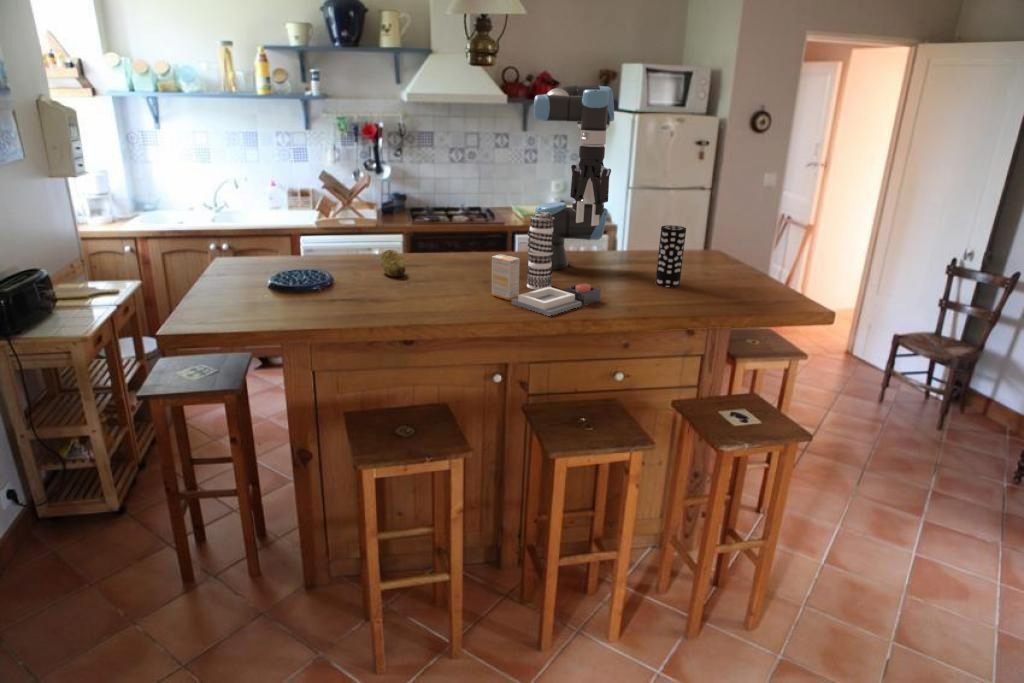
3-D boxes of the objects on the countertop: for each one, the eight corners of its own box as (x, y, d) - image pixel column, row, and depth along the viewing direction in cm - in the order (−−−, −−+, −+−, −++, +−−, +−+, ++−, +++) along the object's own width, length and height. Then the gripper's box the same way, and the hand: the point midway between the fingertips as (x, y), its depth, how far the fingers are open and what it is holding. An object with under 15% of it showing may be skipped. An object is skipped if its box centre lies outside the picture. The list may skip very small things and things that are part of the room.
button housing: (564, 300, 216) (565, 288, 215) (580, 295, 221) (581, 283, 220) (583, 306, 211) (584, 293, 209) (599, 301, 216) (600, 289, 215)
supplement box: (519, 298, 217) (520, 258, 213) (509, 301, 214) (510, 260, 209) (501, 292, 222) (501, 253, 218) (490, 295, 219) (491, 255, 214)
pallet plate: (511, 304, 211) (511, 293, 210) (544, 295, 221) (544, 284, 220) (548, 316, 200) (549, 305, 199) (581, 306, 210) (582, 296, 209)
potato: (381, 279, 233) (380, 256, 230) (380, 269, 245) (379, 248, 242) (406, 278, 235) (405, 256, 232) (403, 269, 247) (403, 247, 244)
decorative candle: (520, 286, 229) (522, 213, 220) (535, 281, 236) (538, 209, 227) (542, 292, 224) (545, 216, 215) (557, 286, 231) (561, 213, 222)
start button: (571, 296, 216) (572, 285, 214) (581, 293, 219) (582, 282, 218) (583, 299, 212) (584, 288, 211) (593, 296, 216) (593, 285, 214)
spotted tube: (679, 288, 232) (686, 231, 225) (655, 286, 234) (661, 229, 226) (679, 282, 240) (685, 226, 233) (655, 280, 241) (661, 224, 234)
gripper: (560, 143, 203) (556, 220, 211) (609, 148, 190) (603, 230, 199) (576, 142, 208) (572, 217, 216) (625, 147, 195) (618, 227, 204)
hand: (587, 223), depth 207 cm, fingers open, 5 cm apart
